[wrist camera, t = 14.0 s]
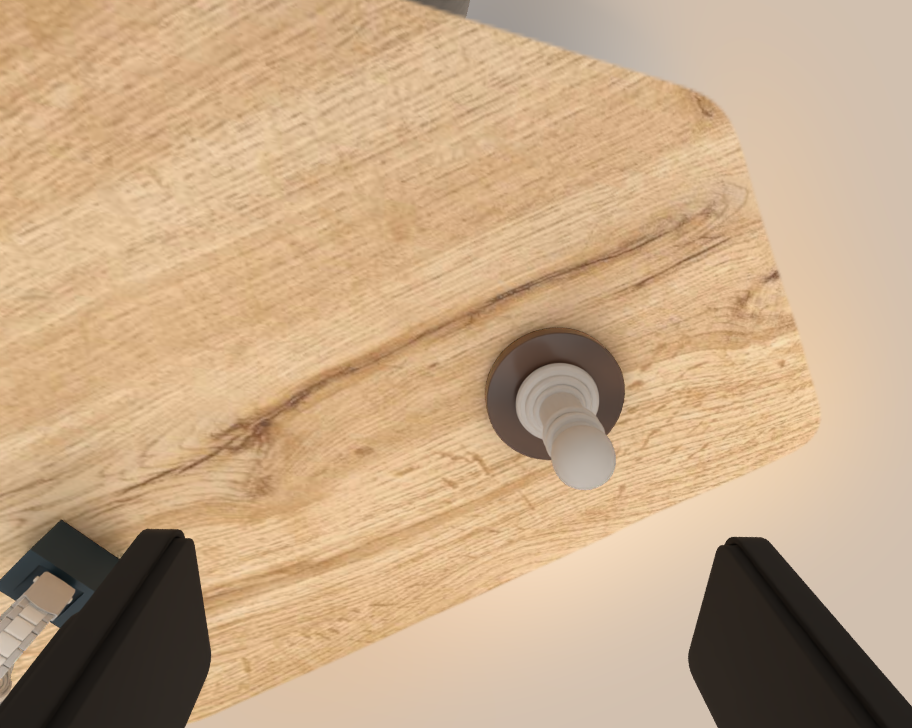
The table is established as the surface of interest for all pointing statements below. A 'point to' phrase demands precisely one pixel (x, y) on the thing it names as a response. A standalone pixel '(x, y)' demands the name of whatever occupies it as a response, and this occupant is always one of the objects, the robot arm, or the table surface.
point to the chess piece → (567, 423)
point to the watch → (48, 590)
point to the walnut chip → (536, 354)
